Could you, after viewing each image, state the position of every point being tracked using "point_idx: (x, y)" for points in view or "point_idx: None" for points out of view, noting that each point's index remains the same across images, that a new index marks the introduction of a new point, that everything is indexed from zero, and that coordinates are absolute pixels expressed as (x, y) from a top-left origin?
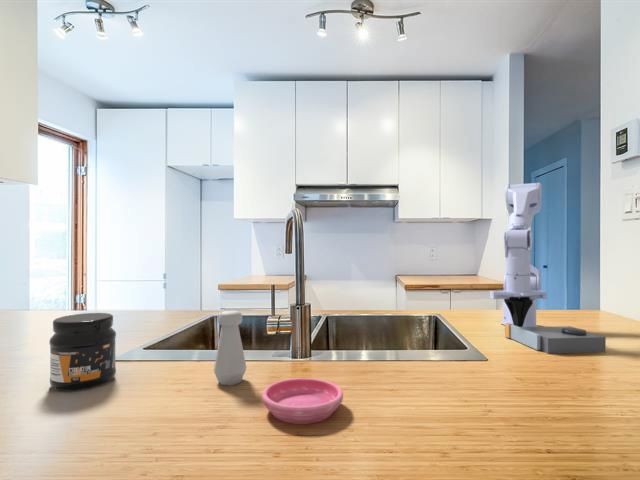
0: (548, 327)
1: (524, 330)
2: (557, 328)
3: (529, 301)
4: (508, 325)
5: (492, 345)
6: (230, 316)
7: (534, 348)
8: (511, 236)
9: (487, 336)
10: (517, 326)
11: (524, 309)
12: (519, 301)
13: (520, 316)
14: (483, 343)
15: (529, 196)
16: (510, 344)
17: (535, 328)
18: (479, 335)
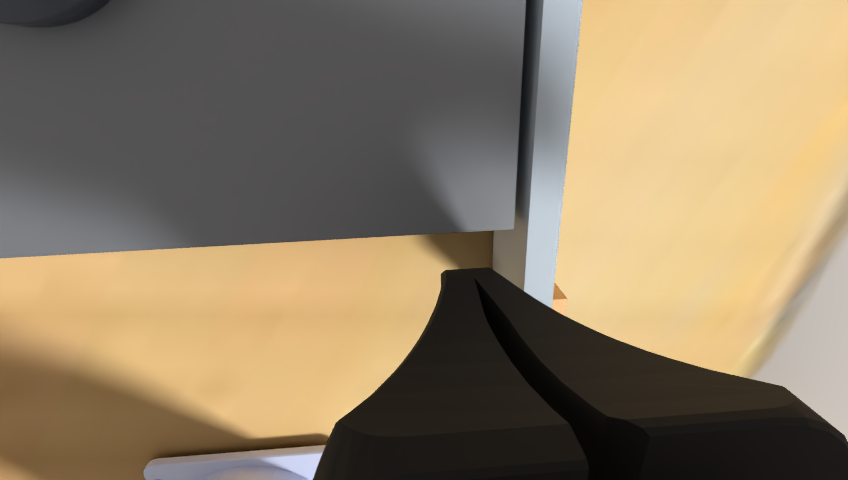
0: (202, 207)
1: (578, 36)
2: (115, 157)
3: (440, 456)
4: (563, 301)
5: (772, 65)
6: None
7: None
8: None
9: (625, 313)
10: (529, 231)
11: (481, 359)
12: (693, 474)
13: (506, 308)
14: (791, 129)
15: None
16: (615, 89)
17: (370, 168)
18: (659, 337)
